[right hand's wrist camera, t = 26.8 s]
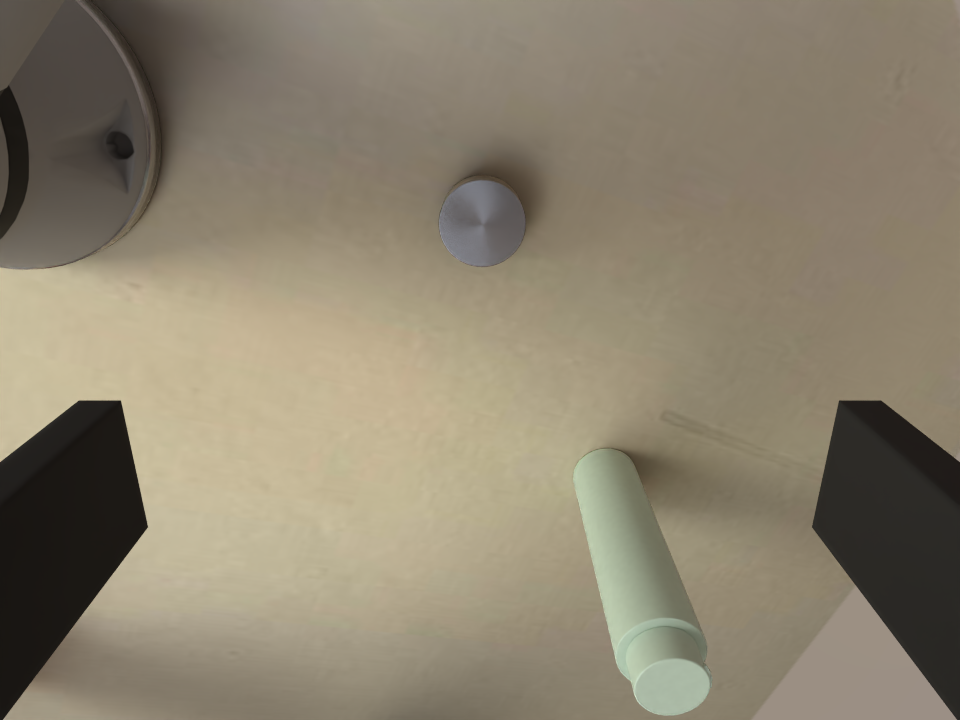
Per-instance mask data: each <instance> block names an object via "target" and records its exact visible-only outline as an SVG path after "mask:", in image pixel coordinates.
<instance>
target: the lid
mask: <svg viewBox="0 0 960 720" xmlns="http://www.w3.org/2000/svg"><path fill="white" fill-rule="evenodd" d="M525 228H526V218H525V212H524V209H523V206H522V203H521V201H520V199H519V197H518V195H517V193H516V192H515V191H514V189H513V188H512V187H511V186H510V185H509V184H507V183H506V182H504V181H503V180H501V179H499V178H496V177H493V176H489V175H476V176H471V177H468V178H465V179H464V180H462V181H460V182H459V183H457V184H456V185H455V186H454V187H453V188H452V189H451V190H450V191H449V192H448V194H447V196H446V197H445V200H444V202H443V205H442V208H441V211H440V216H439V231H440V236H441V238H442V241H443V243H444V245H445V247H446V248H447V249H448V251H449V252H450V253H451V254H452V255H453V256H454V257H455V258H457V259H458V260H460V261H461V262H463V263H465V264H468V265H471V266H477V267H488V266H493V265H496V264H499V263H501V262H503V261H505V260H506V259H508V258H509V257H510V256H511V255H513V254H514V252H515V251H516V250H517V249H518V247H519V246H520V244H521V242H522V240H523V237H524V234H525Z"/></svg>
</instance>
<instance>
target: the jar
mask: <svg viewBox="0 0 960 720" xmlns="http://www.w3.org/2000/svg"><path fill="white" fill-rule="evenodd" d="M573 481H574V486H575V490H576V494H577V499H578V503H579V507H580V511H581V515H582V520H583V524H584V528H585V532H586V537H587V541H588V545H589V549H590V553H591V558H592V562H593V566H594V570H595V575H596V579H597V583H598V587H599V592H600V596H601V600H602V604H603V608H604V613H605V617H606V621H607V625H608V630H609V634H610V638H611V642H612V646H613V651H614V655H615V659H616V663H617V666H618V668H619V670H620V671H621V673H622V674H623V675H624V676H625V677H626V678H627V679H629V680H630V681H631V683H632V687H633V691H634V695H635V698H636V700H637V701H638V703H639V704H640V705H641V706H642V707H643V708H644V709H646V710H648V711H650V712H652V713H655V714H658V715H665V716H671V715H679V714H683V713H686V712H689V711H691V710H693V709H694V708H696V707H697V706H699V705H700V704H701V703H702V702H703V701H704V700H705V698H706V697H707V695H708V693H709V690H710V688H711V685H712V676H711V672H710V670H709V668H708V667H707V665H706V664H704V662H705V659H706V655H707V643H706V640H705V637H704V634H703V632H702V630H701V627H700V625H699V622H698V620H697V617H696V615H695V612H694V610H693V607H692V605H691V603H690V600H689V598H688V595H687V593H686V590H685V588H684V585H683V583H682V581H681V578H680V576H679V573H678V571H677V568H676V566H675V563H674V561H673V558H672V556H671V554H670V551H669V549H668V546H667V544H666V541H665V539H664V536H663V534H662V532H661V529H660V527H659V524H658V522H657V519H656V517H655V514H654V512H653V509H652V507H651V505H650V502H649V500H648V497H647V495H646V492H645V490H644V487H643V485H642V482H641V480H640V478H639V475H638V473H637V470H636V468H635V465H634V463H633V461H632V460H631V459H630V458H629V457H628V456H627V455H626V454H625V453H623V452H621V451H618V450H615V449H609V448H605V449H598V450H595V451H592V452H590V453H588V454H586V455H585V456H584V457H583V458H582V459H581V460H580V461H579V462H578V463H577V465H576V467H575V470H574V473H573Z"/></svg>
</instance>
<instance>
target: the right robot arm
mask: <svg viewBox="0 0 960 720" xmlns="http://www.w3.org/2000/svg"><path fill="white" fill-rule="evenodd" d="M160 161H161V130H160V123H159V116H158V112H157V108H156V103H155V100H154V97H153V93H152V90H151V87H150V85H149V82H148V80H147V78H146V75H145V73H144V71H143V69H142V67H141V65H140V63H139V61H138V59H137V57H136V55H135V54H134V52H133V51H132V49H131V47H130V46H129V44H128V43H127V41H126V40H125V38H124V37H123V36H122V34H121V33H120V32H119V30H118V29H117V28H116V27H115V25H114V24H113V23H112V22H111V21H110V20H109V19H108V18H107V16H106V15H105V14H104V13H103V12H102V11H101V10H100V9H99V8H98V7H97V6H95V5H94V4H93V3H92V2H91V1H90V0H0V267H2V268H9V269H43V268H52V267H57V266H63V265H66V264H69V263H73V262H76V261H78V260H80V259H83V258H85V257H88V256H90V255H92V254H95V253H97V252H99V251H101V250H103V249H105V248H107V247H108V246H110V245H112V244H113V243H115V242H116V241H117V240H119V239H120V238H121V237H122V236H124V235H125V234H126V233H127V232H128V231H129V230H130V229H131V228H132V227H133V225H134V224H135V223H136V222H137V221H138V219H139V218H140V216H141V215H142V213H143V212H144V210H145V209H146V207H147V205H148V203H149V201H150V199H151V197H152V194H153V191H154V189H155V186H156V182H157V178H158V174H159V168H160ZM147 528H148V525H147V520H146V516H145V511H144V506H143V502H142V497H141V492H140V488H139V483H138V478H137V474H136V469H135V464H134V460H133V455H132V450H131V446H130V441H129V436H128V432H127V427H126V422H125V418H124V413H123V408H122V404H121V401H78V402H77V403H75V404H74V405H73V406H71V407H70V408H69V409H68V410H66V411H65V412H64V413H62V414H61V415H60V416H59V417H57V418H56V419H55V420H54V421H52V422H51V423H50V424H48V425H47V426H46V427H45V428H43V429H42V430H41V431H40V432H38V433H37V434H36V435H34V436H33V437H32V438H31V439H29V440H28V441H27V442H25V443H24V444H23V445H22V446H20V447H19V448H18V449H17V450H15V451H14V452H13V453H11V454H10V455H9V456H8V457H6V458H5V459H4V460H2V461H1V462H0V720H3V719H4V717H5V716H6V715H7V713H8V712H9V711H10V710H11V708H12V707H13V706H14V704H15V703H16V702H17V700H18V699H19V698H20V696H21V695H22V694H23V692H24V691H25V690H26V688H27V687H28V686H29V684H30V683H31V682H32V680H33V679H34V678H35V676H36V675H37V674H38V672H39V671H40V670H41V668H42V667H43V666H44V664H45V663H46V662H47V660H48V659H49V658H50V656H51V655H52V654H53V652H54V651H55V650H56V648H57V647H58V646H59V644H60V643H61V642H62V641H63V639H64V638H65V637H66V635H67V634H68V633H69V631H70V630H71V629H72V627H73V626H74V625H75V623H76V622H77V621H78V619H79V618H80V617H81V615H82V614H83V613H84V611H85V610H86V609H87V607H88V606H89V605H90V603H91V602H92V601H93V599H94V598H95V597H96V595H97V594H98V593H99V591H100V590H101V589H102V587H103V586H104V585H105V583H106V582H107V581H108V579H109V578H110V577H111V575H112V574H113V573H114V572H115V570H116V569H117V568H118V566H119V565H120V564H121V562H122V561H123V560H124V558H125V557H126V556H127V554H128V553H129V552H130V550H131V549H132V548H133V546H134V545H135V544H136V542H137V541H138V540H139V538H140V537H141V536H142V534H143V533H144V532H145V530H146V529H147ZM812 528H813V529H814V530H815V532H816V533H817V534H818V536H819V537H820V538H821V540H822V541H823V542H824V544H825V545H826V546H827V548H828V549H829V550H830V552H831V553H832V554H833V556H834V557H835V558H836V560H837V561H838V562H839V564H840V565H841V566H842V568H843V569H844V570H845V572H846V573H847V574H848V575H849V577H850V578H851V579H852V581H853V582H854V583H855V585H856V586H857V587H858V589H859V590H860V591H861V593H862V594H863V595H864V597H865V598H866V599H867V601H868V602H869V603H870V605H871V606H872V607H873V609H874V610H875V611H876V613H877V614H878V615H879V616H880V618H881V619H882V621H883V622H884V623H885V625H886V626H887V627H888V629H889V630H890V631H891V632H892V634H893V635H894V636H895V638H896V639H897V641H898V642H899V643H900V644H901V646H902V647H903V648H904V650H905V651H906V652H907V654H908V655H909V656H910V658H911V659H912V660H913V662H914V663H915V664H916V666H917V667H918V668H919V670H920V671H921V672H922V674H923V675H924V676H925V678H926V679H927V680H928V682H929V683H930V684H931V686H932V687H933V688H934V690H935V691H936V692H937V694H938V695H939V696H940V698H941V699H942V700H943V702H944V703H945V704H946V706H947V707H948V708H949V710H950V711H951V712H952V713H953V715H954V716H955V717H956V719H957V720H960V462H959V461H957V460H956V459H955V458H954V457H952V456H951V455H950V454H949V453H947V452H946V451H945V450H943V449H942V448H941V447H940V446H938V445H937V444H936V443H935V442H933V441H932V440H931V439H929V438H928V437H927V436H926V435H924V434H923V433H922V432H920V431H919V430H918V429H917V428H915V427H914V426H913V425H912V424H910V423H909V422H908V421H906V420H905V419H904V418H903V417H901V416H900V415H899V414H898V413H896V412H895V411H894V410H892V409H891V408H890V407H889V406H887V405H886V404H885V403H883V402H882V401H839V404H838V408H837V413H836V418H835V422H834V427H833V432H832V436H831V441H830V446H829V450H828V455H827V460H826V464H825V469H824V474H823V478H822V483H821V488H820V492H819V497H818V502H817V506H816V511H815V516H814V520H813V525H812Z"/></svg>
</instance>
